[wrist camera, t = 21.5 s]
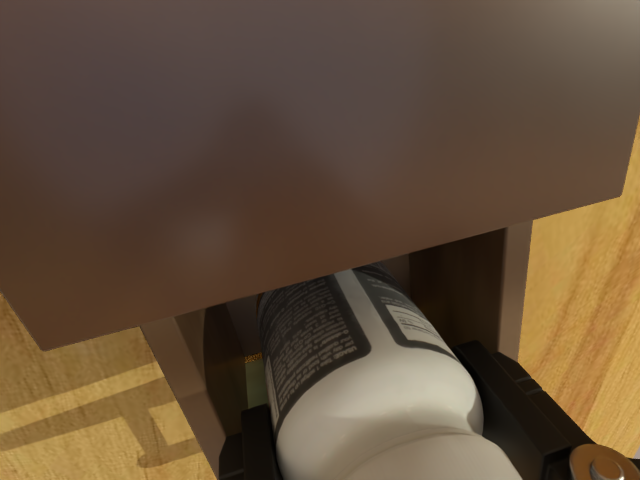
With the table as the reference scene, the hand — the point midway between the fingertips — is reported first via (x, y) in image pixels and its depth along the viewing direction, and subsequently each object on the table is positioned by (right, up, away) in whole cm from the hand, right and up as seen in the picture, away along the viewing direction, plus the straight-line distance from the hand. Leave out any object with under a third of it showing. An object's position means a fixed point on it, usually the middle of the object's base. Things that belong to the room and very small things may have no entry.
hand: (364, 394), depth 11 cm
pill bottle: (-1, +2, +5) cm, 6 cm away
